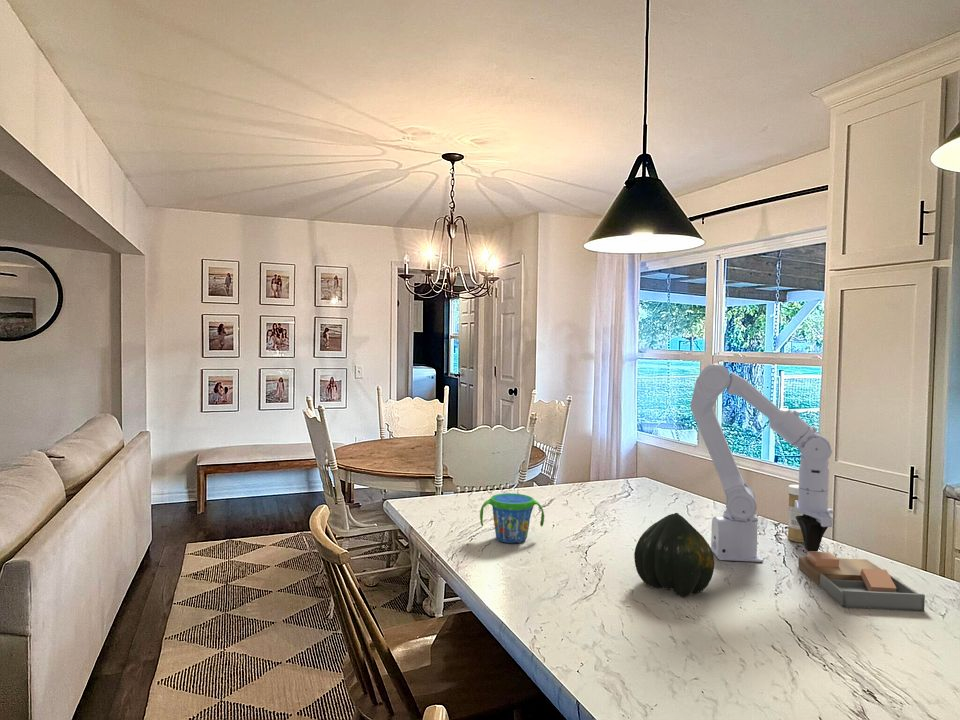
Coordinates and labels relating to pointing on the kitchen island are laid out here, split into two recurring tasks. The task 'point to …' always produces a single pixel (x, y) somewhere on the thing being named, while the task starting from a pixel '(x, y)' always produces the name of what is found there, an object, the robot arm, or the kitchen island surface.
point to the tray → (872, 595)
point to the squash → (674, 556)
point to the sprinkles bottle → (794, 515)
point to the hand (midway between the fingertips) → (811, 550)
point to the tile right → (877, 580)
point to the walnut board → (836, 569)
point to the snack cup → (511, 516)
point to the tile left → (823, 559)
